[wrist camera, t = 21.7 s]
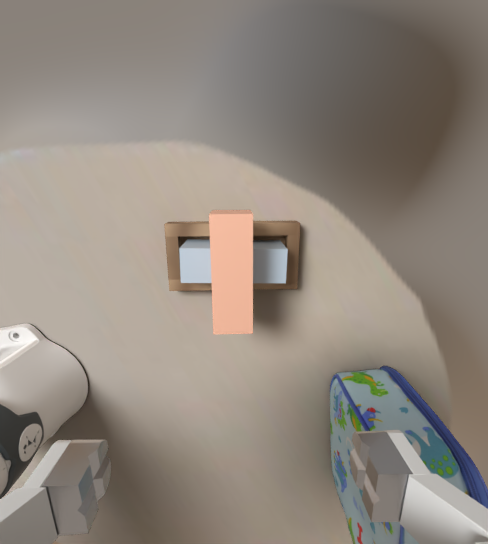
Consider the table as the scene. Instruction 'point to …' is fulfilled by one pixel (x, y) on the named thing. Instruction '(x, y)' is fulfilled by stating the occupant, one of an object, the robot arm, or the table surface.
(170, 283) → the jig
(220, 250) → the salmon orange rectangular block
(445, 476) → the lunch box
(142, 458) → the table surface
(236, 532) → the table surface
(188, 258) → the pale blue upright slab
